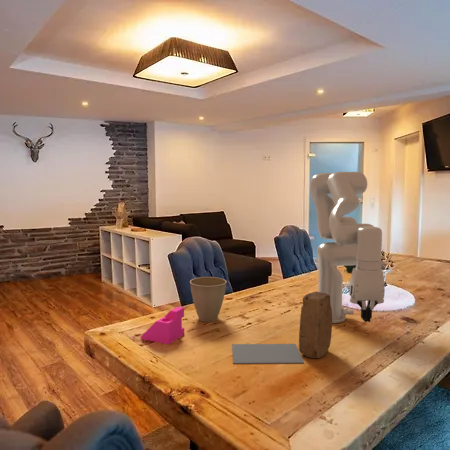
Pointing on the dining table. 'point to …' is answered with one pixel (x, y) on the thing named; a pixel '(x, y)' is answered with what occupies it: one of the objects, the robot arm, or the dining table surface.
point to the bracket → (166, 327)
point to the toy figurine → (350, 268)
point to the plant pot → (208, 297)
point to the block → (315, 325)
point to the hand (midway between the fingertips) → (366, 320)
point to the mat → (265, 353)
